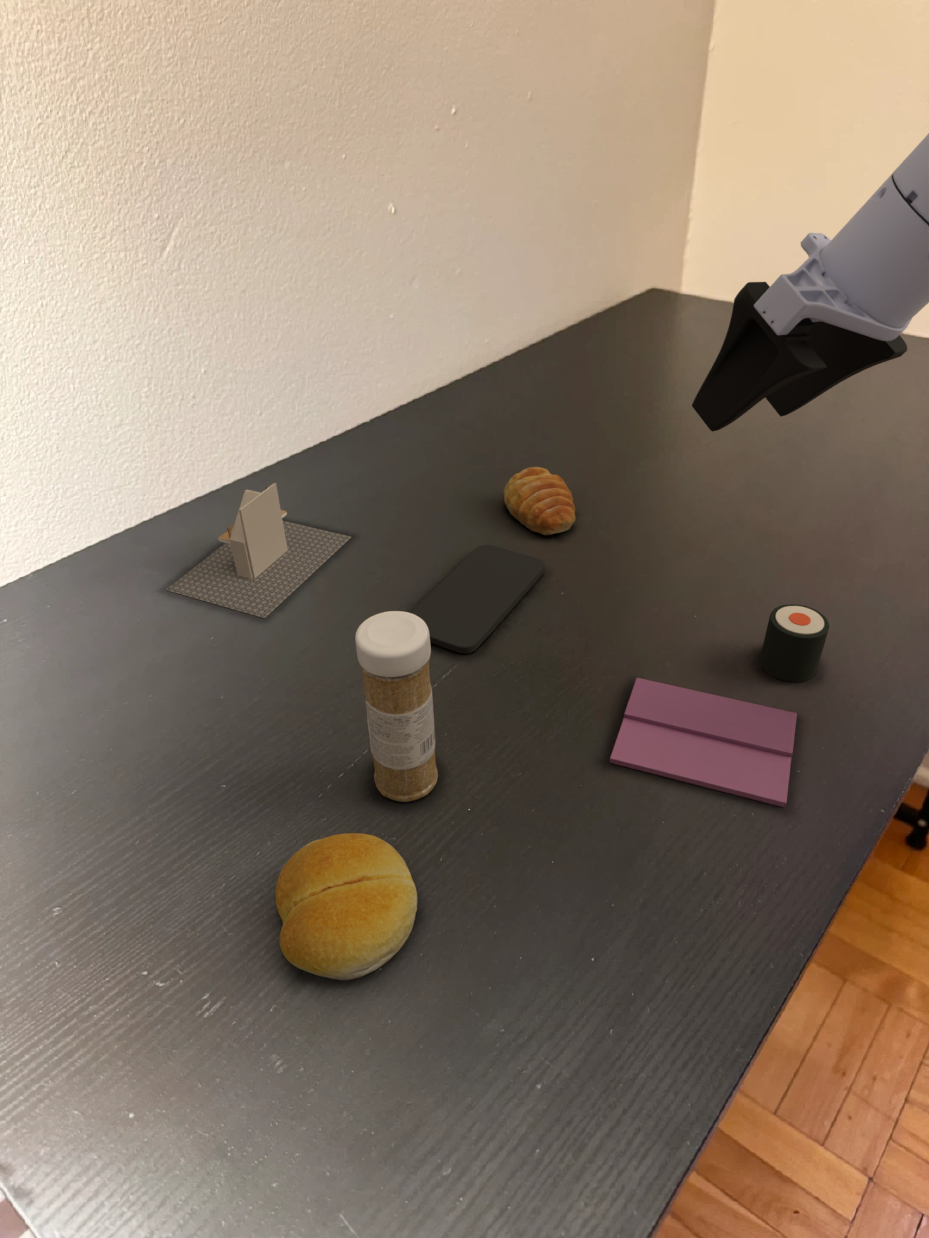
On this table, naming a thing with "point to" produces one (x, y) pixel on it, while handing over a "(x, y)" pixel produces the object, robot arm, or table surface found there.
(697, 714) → the napkin
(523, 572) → the phone
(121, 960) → the table surface
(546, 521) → the pastry
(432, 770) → the spice jar
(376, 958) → the bread roll
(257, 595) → the architectural model
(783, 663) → the sushi roll
